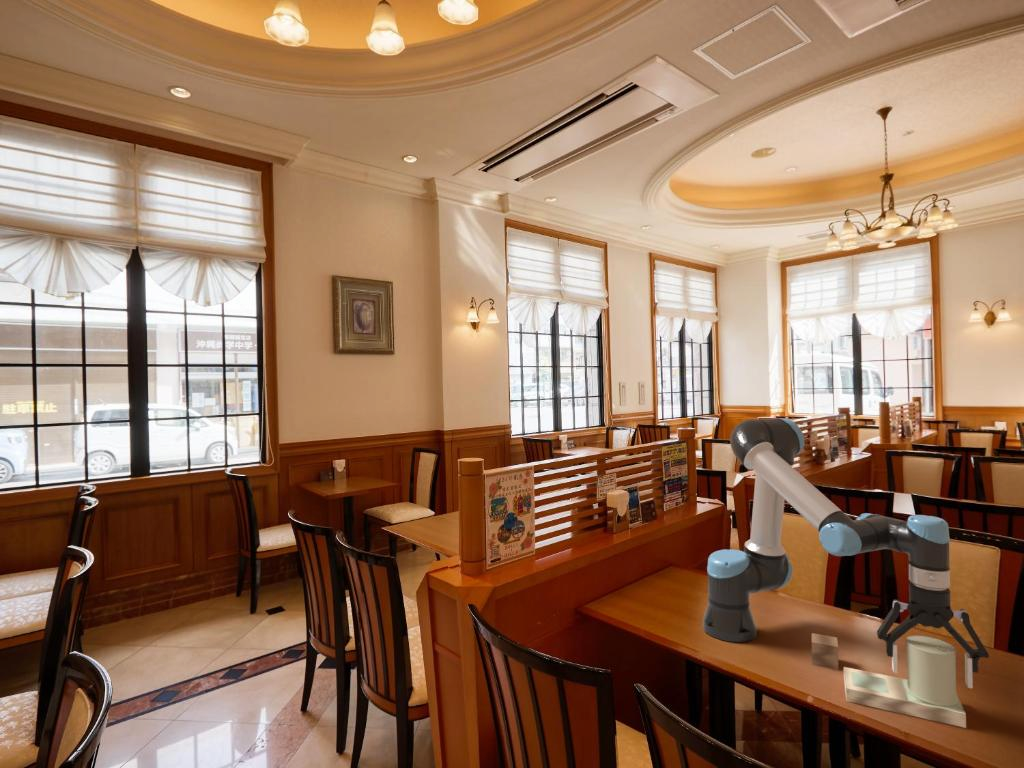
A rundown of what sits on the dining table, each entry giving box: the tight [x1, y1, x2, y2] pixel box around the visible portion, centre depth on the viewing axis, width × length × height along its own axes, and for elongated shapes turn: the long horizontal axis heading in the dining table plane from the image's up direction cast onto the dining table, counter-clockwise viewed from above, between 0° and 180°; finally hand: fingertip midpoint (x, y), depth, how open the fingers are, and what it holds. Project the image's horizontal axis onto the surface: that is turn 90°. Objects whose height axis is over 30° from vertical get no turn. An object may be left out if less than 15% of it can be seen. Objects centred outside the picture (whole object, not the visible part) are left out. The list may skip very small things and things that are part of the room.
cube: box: [811, 632, 839, 671], centre depth 146 cm, size 6×6×6 cm
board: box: [843, 666, 967, 729], centre depth 127 cm, size 22×11×3 cm, turn 61°
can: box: [905, 635, 958, 706], centre depth 124 cm, size 9×9×12 cm
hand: (930, 677), depth 124 cm, fingers open, 13 cm apart
